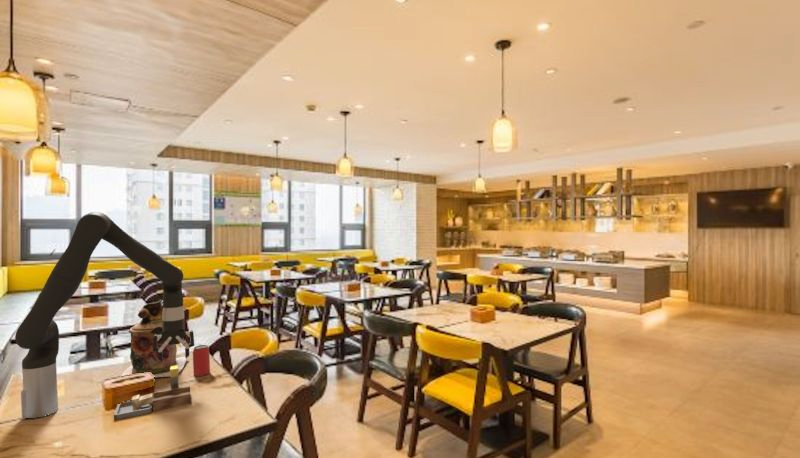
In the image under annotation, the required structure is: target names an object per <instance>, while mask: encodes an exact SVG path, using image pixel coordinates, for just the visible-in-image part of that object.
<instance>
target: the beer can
mask: <svg viewBox="0 0 800 458" xmlns="http://www.w3.org/2000/svg"><path fill="white" fill-rule="evenodd" d="M210 359H211V357H210V348H209V345H206V344H200V345H197V346H193V351H192V365H193V371H192V372H193V376H195V377H205V376H207V375H209V374H210V372H211V363H210V362H211V361H210Z"/></svg>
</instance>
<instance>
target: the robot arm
mask: <svg viewBox="0 0 800 458" xmlns="http://www.w3.org/2000/svg"><path fill="white" fill-rule="evenodd" d="M102 240H103V241H105V242H107V243H108V244H111V245H112V246H113V247H115V248H117V250H119V251H120V252H122V254H123V255H124V256H125V257H126V258H127V259H129V260H130V261H131V262H133V263H134V264H135V265H137V266H139V267H140V268H142V269H143V270H145V271H146V272H149V274H150V273H151V274H152V275H153V276H155V277H156V278H157V279H158V280H160V281H161V283H162V291H163V293H162V294H163V295H162V309H163V312H162V322H163V333H162V335H157V334H155V335H154V337H153V351H157V352H158V359H159V360H161V362H163V351H162V350H163V349H164V348H165V347H166V345H167V344H168V345H172V344H176V345H179V344H181V345H182V346H183V347H184V348H185V349H184V352H185V353H184V356H185V358H187V357H188V356H189V357H190V349H191V348H192V347H193V348H194V347H195V338H194V337H195V335H194V331H193V330H192V329H191V330H190V331H186V330H185V309H184V308H185V307H184V294H183V289H182V288H183V287H182V286H183V285H182V284H183V280H184V273H183V271H182V270H181V269H180V268H179V267H177V266H175V265H173V264H172V263H170V262H168V261H167V260H166V259H164V258H163V257H162V256H161V255H160V254H157V253H156V252H155V251H153V250H152V249H150V248H149V247H148V246H146V245H144V244H143V243H141V241H140V242H139V240H137V239H135V238H134V237H132V235H130V234H129V233H127V232H126V231H124V230H123V229H122V228H120V226H119V225H117V224H116V223H115V222H114V221H113V220H112V219H111V218H110V217H109V216H108V215H107V214H105V213H104V212H100V211H93V212H89V213H86V214H84V215H83V216H80V218H79V220H78V222H77V223H76V226H75V229H74V232H73V235H72V236H71V238H70V241H69V244H68V246H67V248H66V249H65V251H64V252H63V253H62V254H61V256H60V257H59V259H58V260H57V263H56V264H55V266H54V267H53V268H52V271H51V273H50V274H49V275H48V277H47V280H46V281H45V284H44V286H43V288H42V289H41V291H40V292H39V295H38V296H37V298H36V301H35V302H34V303H33V306H32V308H31V309H30V311H29V312H28V314H27V315H26V316H25V318H24V319H23V320H22V322H21V323H20V324H19V326H18V328H17V330H16V332H15V336H14V340H15V343H16V345H17V346H18V347H19V348H20V349H25V350H28V351H27V353H26V356H24V358H23V359H22V361H21V368H22V369H21V370H22V371H21V373H22V374H21V375H22V390H21V391H20V401H21V402H20V405H21V419H22V418H35V419H37V418H36V417H41V416H44V417H46V416H45V415H48V414H50V415H52V414H51V413H53V412H55V411H56V412H58V411H59V399H58V398H59V396H58V374H57V373H58V372H57V371H58V370H57V357H58V355H59V349H60V348H59V347H60V330H59V326H58V324H57V322H56V320H54V318H55V316H56V315H57V313H58V312H59V311H60V310H61V308H63V306H65V305H66V303H68V301H69V300H70V299H71V298H72V297H73V296H74V295H75V293H76V292H77V291H78V288H79V286H80V285H81V283H82V281H83V279H84V277H85V275H86V272H87V270H88V266H89V263H90V260H91V258H92V257H91V256H92V255H93V253H94V251H95V250H96V248H97V246H98V245H99V243H101V241H102ZM186 336H187V337H188V338H190V339H189V340H190V342H189V343H188V342H187V341H186V339H184V338H185V337H186ZM160 338H162V339H163V340H164V342H163V343H162V345H161V346H160V348H158V347H157V341H159V339H160ZM189 357H188V358H189ZM56 412H55V413H56ZM53 414H54V413H53ZM48 416H49V415H48ZM41 418H42V417H41Z"/></svg>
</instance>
